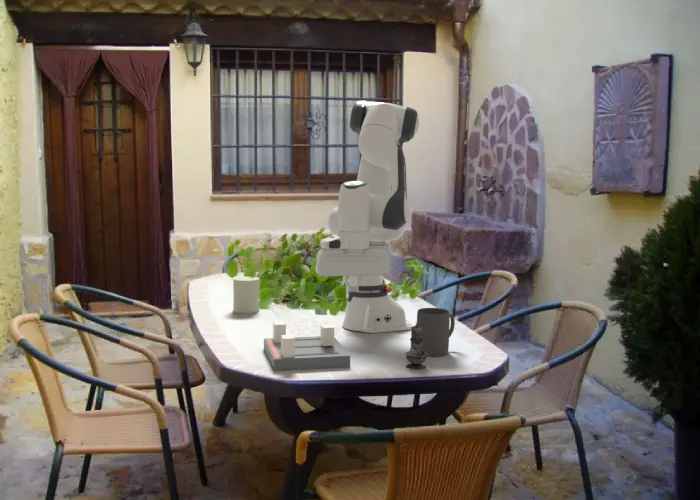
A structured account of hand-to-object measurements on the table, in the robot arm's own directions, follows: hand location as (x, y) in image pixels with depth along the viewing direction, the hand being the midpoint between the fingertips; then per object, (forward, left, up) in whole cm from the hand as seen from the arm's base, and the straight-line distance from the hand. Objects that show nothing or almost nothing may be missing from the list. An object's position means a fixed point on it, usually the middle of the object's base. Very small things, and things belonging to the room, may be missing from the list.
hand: (352, 291), depth 205 cm
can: (+23, -64, -18) cm, 70 cm away
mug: (-25, 0, -18) cm, 31 cm away
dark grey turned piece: (-14, +14, -18) cm, 27 cm away
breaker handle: (+7, 0, -14) cm, 16 cm away
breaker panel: (+13, 0, -18) cm, 22 cm away
